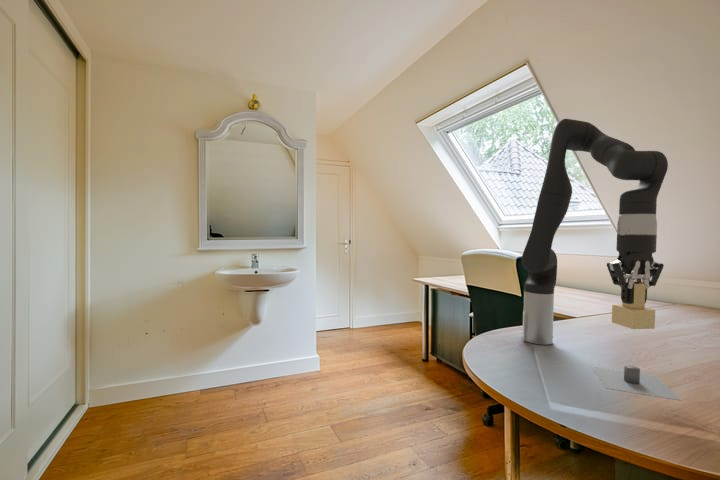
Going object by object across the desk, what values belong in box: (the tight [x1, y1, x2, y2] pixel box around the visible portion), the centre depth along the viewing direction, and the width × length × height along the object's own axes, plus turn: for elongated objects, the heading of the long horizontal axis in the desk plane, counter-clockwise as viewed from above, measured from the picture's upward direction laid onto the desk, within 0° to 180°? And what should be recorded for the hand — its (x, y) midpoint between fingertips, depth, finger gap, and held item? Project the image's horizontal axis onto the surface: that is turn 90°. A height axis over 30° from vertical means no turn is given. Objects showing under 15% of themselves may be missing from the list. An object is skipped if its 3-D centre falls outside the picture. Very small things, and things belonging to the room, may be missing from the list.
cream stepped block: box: [611, 280, 656, 330], centre depth 82 cm, size 6×6×11 cm
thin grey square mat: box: [591, 364, 683, 402], centre depth 83 cm, size 14×14×4 cm
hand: (633, 302), depth 82 cm, fingers closed on cream stepped block, 3 cm apart
